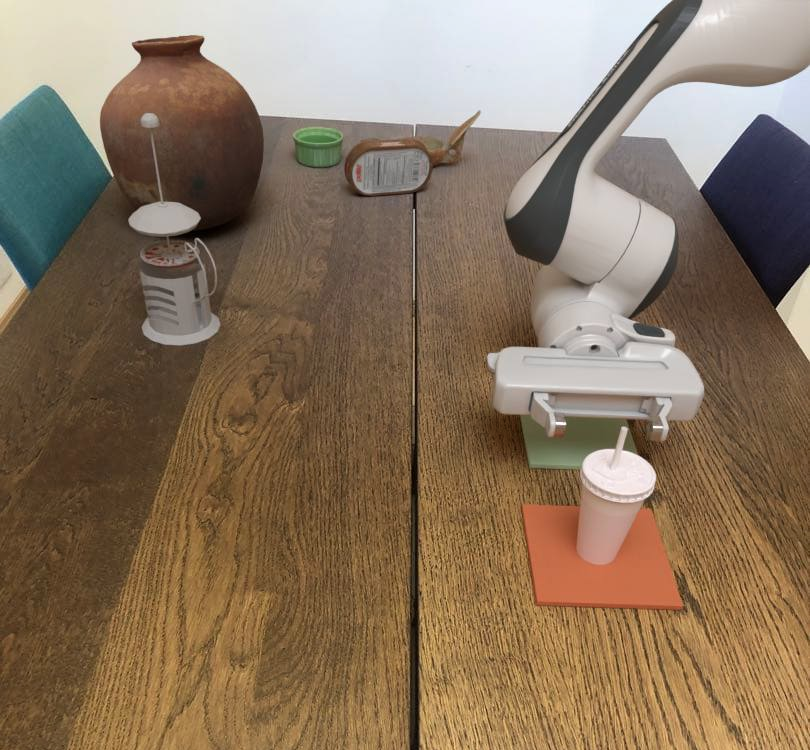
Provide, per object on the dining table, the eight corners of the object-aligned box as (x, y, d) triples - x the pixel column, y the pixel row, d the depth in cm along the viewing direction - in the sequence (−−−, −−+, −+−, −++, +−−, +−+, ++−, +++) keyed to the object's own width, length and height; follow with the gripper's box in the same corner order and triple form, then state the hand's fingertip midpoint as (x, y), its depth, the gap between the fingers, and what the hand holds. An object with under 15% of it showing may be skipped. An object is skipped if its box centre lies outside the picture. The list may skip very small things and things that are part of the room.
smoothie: (558, 526, 79) (587, 404, 69) (624, 529, 79) (662, 408, 69) (566, 573, 74) (598, 450, 65) (636, 577, 74) (678, 455, 65)
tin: (427, 186, 142) (430, 135, 137) (433, 193, 140) (436, 141, 134) (343, 193, 138) (343, 140, 133) (348, 200, 136) (348, 147, 131)
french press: (182, 299, 109) (151, 93, 92) (247, 327, 105) (227, 117, 87) (124, 327, 103) (80, 113, 86) (190, 359, 99) (157, 139, 81)
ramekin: (293, 151, 152) (292, 126, 149) (342, 152, 153) (342, 127, 150) (294, 169, 145) (293, 143, 142) (344, 169, 146) (344, 143, 143)
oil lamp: (472, 178, 146) (478, 117, 139) (355, 165, 148) (355, 105, 141) (477, 161, 152) (483, 103, 146) (365, 149, 154) (366, 91, 148)
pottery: (227, 263, 117) (206, 68, 100) (88, 234, 122) (45, 43, 105) (293, 207, 133) (285, 30, 116) (167, 183, 138) (142, 10, 121)
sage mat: (620, 407, 95) (621, 403, 95) (641, 472, 87) (642, 467, 86) (517, 403, 95) (518, 399, 95) (529, 468, 86) (529, 463, 86)
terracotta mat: (649, 513, 82) (651, 508, 82) (681, 610, 73) (683, 605, 72) (521, 508, 82) (522, 503, 81) (536, 605, 72) (537, 601, 72)
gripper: (488, 322, 82) (499, 399, 72) (688, 330, 83) (727, 409, 73) (481, 376, 87) (491, 456, 77) (671, 384, 87) (706, 464, 77)
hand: (608, 433), depth 75 cm, fingers open, 8 cm apart
